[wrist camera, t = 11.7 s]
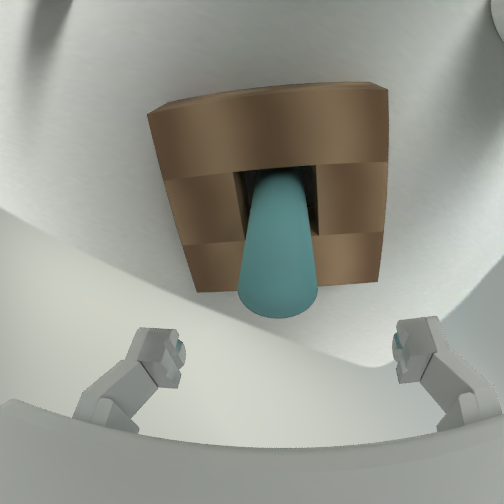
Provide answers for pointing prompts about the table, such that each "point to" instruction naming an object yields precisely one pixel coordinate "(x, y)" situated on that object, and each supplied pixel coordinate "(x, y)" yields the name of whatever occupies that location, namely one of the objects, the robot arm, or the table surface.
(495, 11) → the bath foam
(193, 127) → the socket block
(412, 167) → the table surface
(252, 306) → the peg
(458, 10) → the table surface
